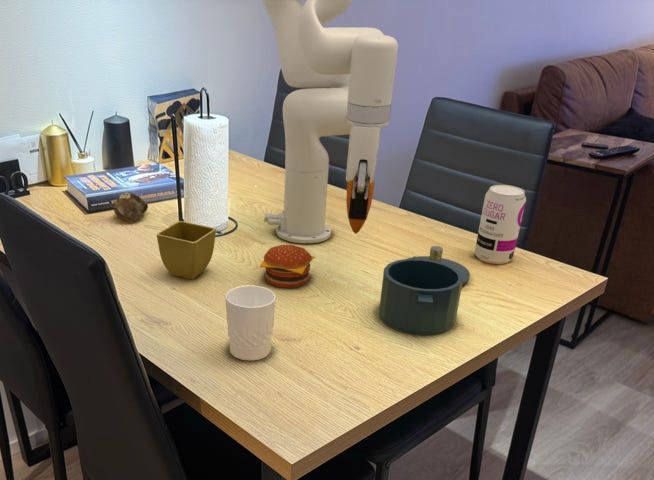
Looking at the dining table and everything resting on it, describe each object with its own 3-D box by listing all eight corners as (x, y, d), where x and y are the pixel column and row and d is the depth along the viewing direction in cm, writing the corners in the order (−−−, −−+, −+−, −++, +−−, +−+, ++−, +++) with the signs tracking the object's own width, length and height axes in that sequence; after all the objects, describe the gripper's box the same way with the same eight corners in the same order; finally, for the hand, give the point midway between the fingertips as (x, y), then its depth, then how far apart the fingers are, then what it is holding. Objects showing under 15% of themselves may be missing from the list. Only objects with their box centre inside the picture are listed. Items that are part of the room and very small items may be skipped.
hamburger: (315, 272, 141) (317, 242, 137) (302, 292, 133) (304, 260, 129) (271, 265, 143) (272, 235, 139) (256, 284, 135) (257, 253, 132)
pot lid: (397, 288, 135) (401, 259, 132) (395, 259, 148) (399, 232, 145) (473, 293, 134) (478, 265, 131) (464, 264, 146) (469, 237, 143)
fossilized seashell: (126, 198, 170) (101, 216, 163) (133, 178, 165) (109, 197, 158) (150, 216, 170) (127, 236, 163) (158, 198, 165) (135, 217, 158)
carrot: (368, 229, 134) (377, 152, 125) (368, 239, 129) (378, 160, 121) (342, 227, 134) (350, 150, 126) (342, 237, 130) (349, 158, 122)
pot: (379, 339, 118) (384, 294, 113) (378, 291, 134) (383, 250, 129) (459, 346, 117) (468, 301, 112) (449, 296, 133) (457, 255, 128)
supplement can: (513, 253, 152) (528, 186, 144) (511, 267, 145) (527, 198, 137) (475, 248, 154) (488, 182, 146) (472, 261, 147) (485, 193, 140)
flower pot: (217, 269, 141) (217, 227, 136) (196, 286, 134) (194, 242, 129) (180, 261, 144) (179, 220, 139) (157, 277, 137) (155, 234, 132)
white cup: (225, 339, 117) (224, 285, 111) (271, 338, 117) (273, 284, 112) (226, 363, 110) (226, 307, 105) (275, 362, 110) (277, 307, 105)
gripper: (348, 101, 127) (339, 196, 137) (344, 124, 113) (335, 228, 123) (389, 103, 126) (377, 199, 136) (390, 127, 112) (377, 232, 122)
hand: (357, 212), depth 129 cm, fingers closed on carrot, 4 cm apart
